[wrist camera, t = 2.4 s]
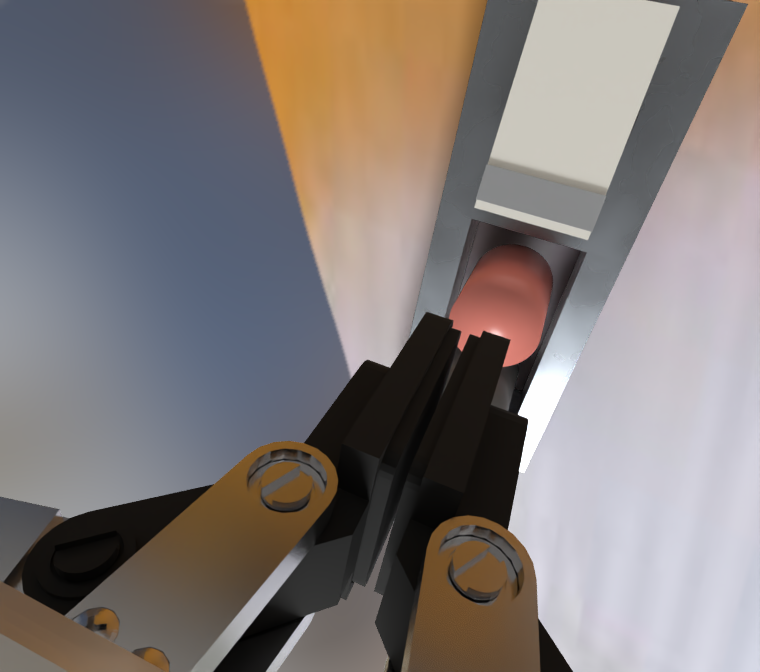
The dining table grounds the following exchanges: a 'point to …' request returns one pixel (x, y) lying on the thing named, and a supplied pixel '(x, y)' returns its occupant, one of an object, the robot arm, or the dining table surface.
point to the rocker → (572, 110)
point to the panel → (623, 199)
